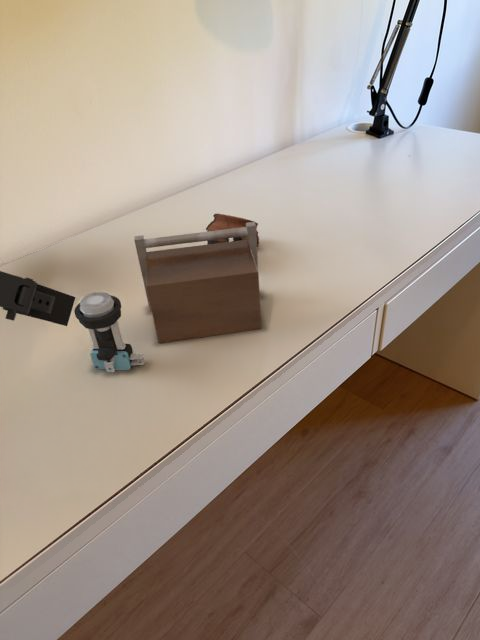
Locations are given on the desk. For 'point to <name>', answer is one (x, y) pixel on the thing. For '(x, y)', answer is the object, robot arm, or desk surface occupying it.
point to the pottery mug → (228, 227)
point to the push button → (106, 332)
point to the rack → (202, 284)
